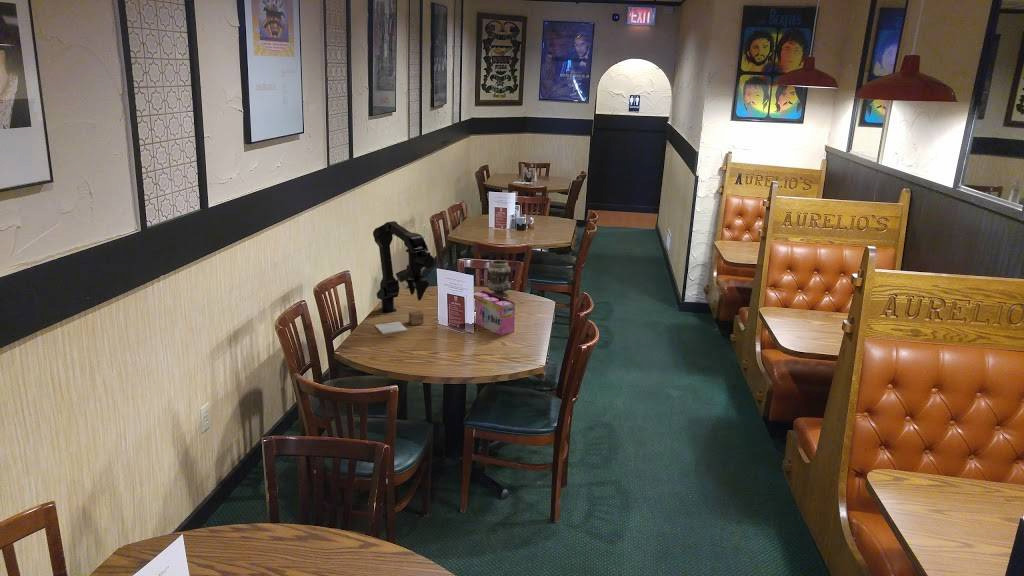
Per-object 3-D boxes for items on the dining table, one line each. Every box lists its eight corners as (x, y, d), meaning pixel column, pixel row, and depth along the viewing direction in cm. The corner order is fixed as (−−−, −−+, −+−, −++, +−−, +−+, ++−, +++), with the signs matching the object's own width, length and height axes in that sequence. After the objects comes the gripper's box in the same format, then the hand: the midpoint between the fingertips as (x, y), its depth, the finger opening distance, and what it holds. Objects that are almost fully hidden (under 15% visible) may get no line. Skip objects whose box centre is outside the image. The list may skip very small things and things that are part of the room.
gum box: (468, 320, 319) (468, 292, 315) (481, 317, 324) (482, 289, 320) (501, 335, 302) (501, 305, 298) (515, 332, 307) (515, 302, 303)
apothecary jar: (500, 291, 364) (501, 257, 359) (515, 296, 355) (516, 262, 350) (482, 295, 357) (482, 261, 351) (497, 301, 348) (497, 266, 343)
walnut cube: (409, 322, 316) (408, 311, 315) (419, 320, 318) (419, 310, 317) (412, 325, 312) (412, 314, 310) (423, 323, 314) (423, 313, 313)
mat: (375, 326, 309) (375, 324, 309) (399, 322, 314) (399, 321, 314) (382, 334, 300) (382, 332, 300) (407, 330, 305) (407, 329, 305)
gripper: (390, 260, 311) (391, 293, 316) (404, 270, 296) (405, 305, 300) (414, 257, 316) (415, 290, 321) (429, 267, 301) (429, 302, 305)
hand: (415, 297), depth 312 cm, fingers open, 9 cm apart
